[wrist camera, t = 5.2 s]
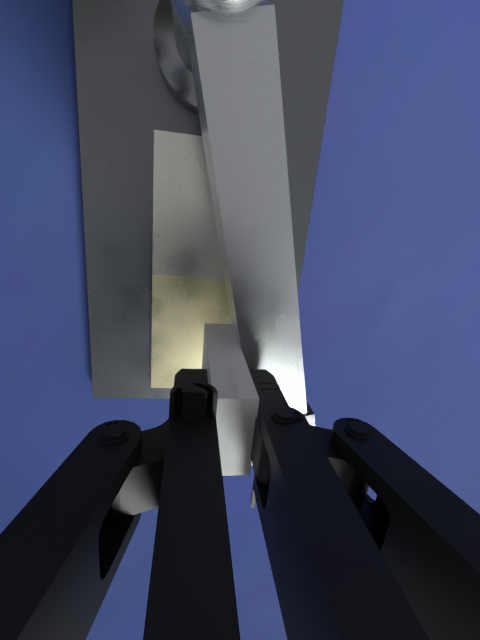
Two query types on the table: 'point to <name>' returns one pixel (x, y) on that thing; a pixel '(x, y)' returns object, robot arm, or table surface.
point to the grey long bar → (248, 177)
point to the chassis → (172, 182)
